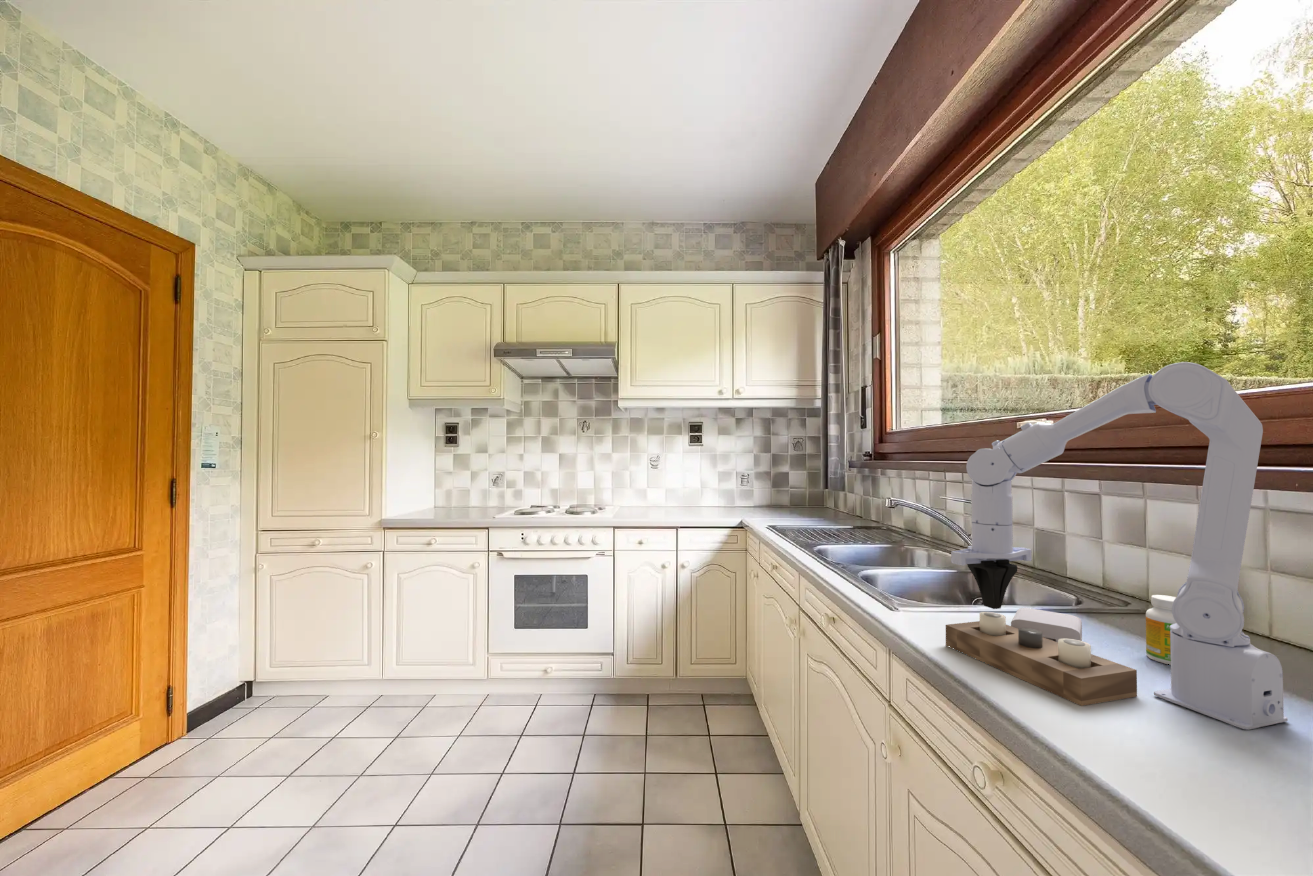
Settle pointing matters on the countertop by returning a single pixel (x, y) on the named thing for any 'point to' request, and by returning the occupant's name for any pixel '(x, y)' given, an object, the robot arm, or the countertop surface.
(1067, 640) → the near knob
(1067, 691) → the knob mount
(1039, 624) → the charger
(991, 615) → the far knob
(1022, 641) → the pot knob
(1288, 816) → the countertop surface
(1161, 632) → the supplement bottle
